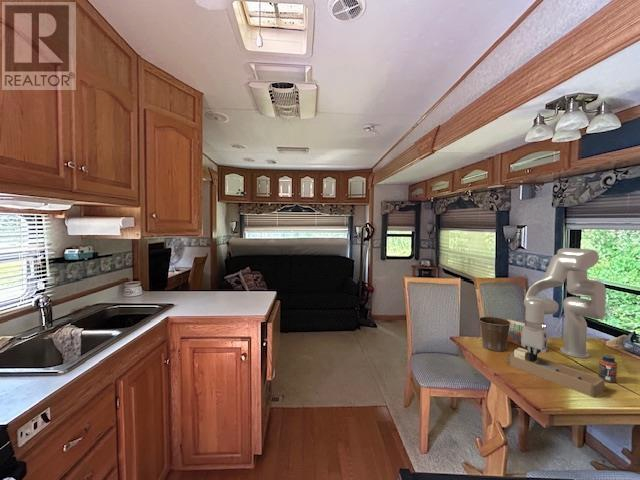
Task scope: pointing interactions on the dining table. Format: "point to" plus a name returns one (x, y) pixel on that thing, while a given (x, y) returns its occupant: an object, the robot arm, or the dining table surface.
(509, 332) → the stack of blocks
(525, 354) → the birch block
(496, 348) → the plant pot
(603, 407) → the dining table surface
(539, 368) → the track
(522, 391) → the dining table surface
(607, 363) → the supplement bottle
